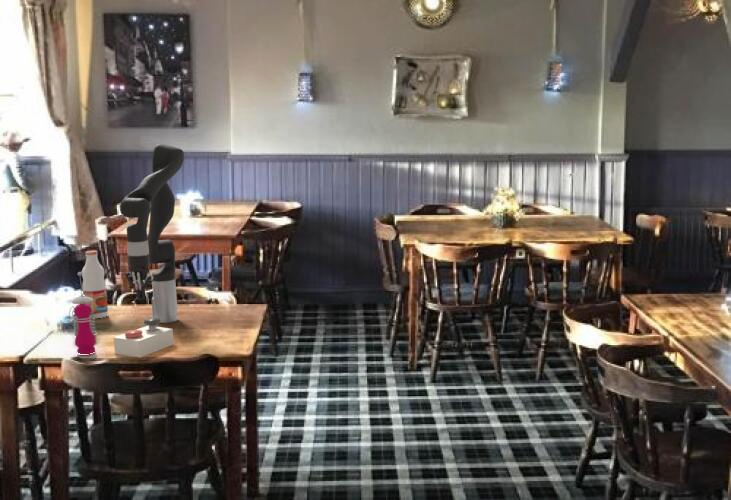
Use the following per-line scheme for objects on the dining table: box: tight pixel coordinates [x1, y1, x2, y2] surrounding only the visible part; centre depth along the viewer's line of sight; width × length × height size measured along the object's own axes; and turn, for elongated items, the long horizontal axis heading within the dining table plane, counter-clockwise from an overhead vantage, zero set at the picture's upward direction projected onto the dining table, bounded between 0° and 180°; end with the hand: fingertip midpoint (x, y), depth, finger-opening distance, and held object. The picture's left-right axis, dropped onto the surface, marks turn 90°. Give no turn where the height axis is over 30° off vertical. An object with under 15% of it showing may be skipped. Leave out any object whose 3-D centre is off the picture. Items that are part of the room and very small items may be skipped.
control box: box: [113, 325, 174, 358], centre depth 345 cm, size 12×18×6 cm, turn 151°
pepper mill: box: [73, 300, 97, 354], centre depth 340 cm, size 7×7×20 cm
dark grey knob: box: [143, 317, 162, 332], centre depth 348 cm, size 6×6×5 cm
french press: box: [68, 271, 98, 336], centre depth 365 cm, size 10×12×25 cm
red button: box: [124, 329, 142, 338], centre depth 340 cm, size 6×6×5 cm
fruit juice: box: [81, 250, 109, 319], centre depth 393 cm, size 9×9×28 cm
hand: (141, 299), depth 344 cm, fingers closed
